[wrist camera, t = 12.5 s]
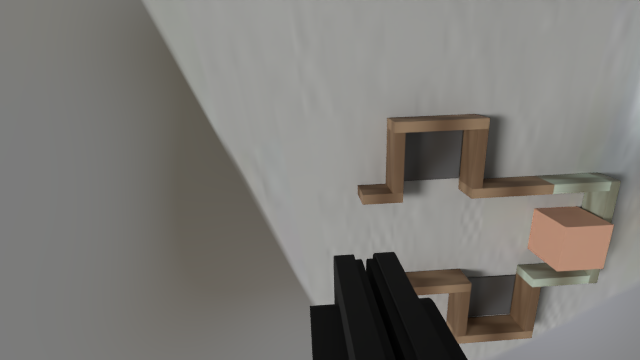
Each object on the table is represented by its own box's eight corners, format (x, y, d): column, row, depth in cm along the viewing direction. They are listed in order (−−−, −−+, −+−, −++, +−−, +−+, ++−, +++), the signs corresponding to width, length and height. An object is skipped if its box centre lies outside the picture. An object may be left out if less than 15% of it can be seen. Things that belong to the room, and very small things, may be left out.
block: (527, 248, 42) (557, 271, 37) (533, 208, 40) (565, 227, 35) (568, 245, 42) (603, 268, 37) (576, 206, 40) (614, 224, 36)
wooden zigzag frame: (358, 332, 44) (362, 350, 41) (357, 119, 36) (363, 123, 33) (566, 316, 45) (584, 333, 42) (611, 108, 37) (637, 111, 34)
